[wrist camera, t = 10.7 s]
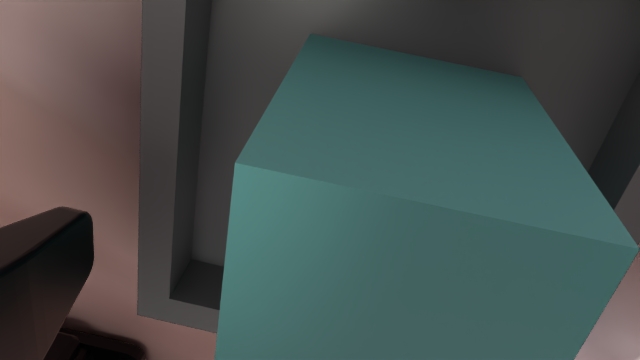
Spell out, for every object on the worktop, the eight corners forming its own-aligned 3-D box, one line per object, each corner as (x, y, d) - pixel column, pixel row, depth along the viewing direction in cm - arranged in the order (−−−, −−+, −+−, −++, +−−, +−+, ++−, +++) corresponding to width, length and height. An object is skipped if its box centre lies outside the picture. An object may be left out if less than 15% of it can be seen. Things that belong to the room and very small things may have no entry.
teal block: (457, 248, 13) (498, 484, 8) (281, 210, 13) (208, 419, 8) (522, 77, 11) (640, 249, 6) (310, 33, 11) (234, 162, 6)
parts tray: (520, 342, 15) (538, 407, 13) (169, 261, 15) (137, 314, 13) (724, -40, 10) (802, -23, 8) (191, -155, 10) (145, -165, 8)
